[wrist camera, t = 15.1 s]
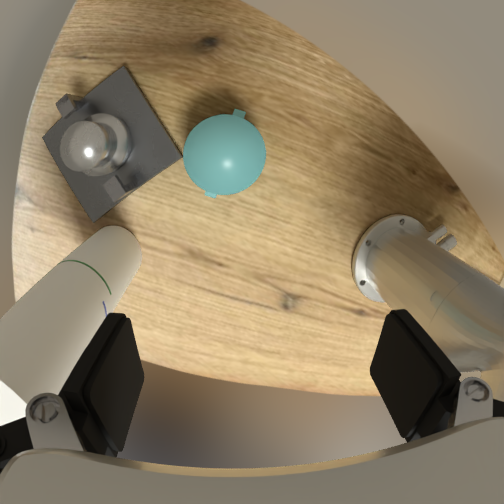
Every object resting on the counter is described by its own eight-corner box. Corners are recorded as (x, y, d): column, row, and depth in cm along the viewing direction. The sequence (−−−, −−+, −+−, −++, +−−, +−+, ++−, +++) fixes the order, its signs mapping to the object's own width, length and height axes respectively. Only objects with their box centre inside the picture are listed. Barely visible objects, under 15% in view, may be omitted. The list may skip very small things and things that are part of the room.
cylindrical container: (94, 277, 34) (-9, 424, 11) (88, 224, 31) (-55, 348, 8) (143, 281, 35) (67, 456, 12) (140, 226, 32) (18, 380, 9)
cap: (206, 101, 27) (203, 93, 23) (272, 123, 29) (281, 119, 24) (178, 184, 30) (169, 192, 26) (242, 205, 32) (245, 216, 27)
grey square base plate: (47, 137, 27) (13, 139, 20) (126, 68, 25) (103, 52, 19) (97, 220, 31) (70, 238, 25) (183, 157, 30) (171, 160, 23)
